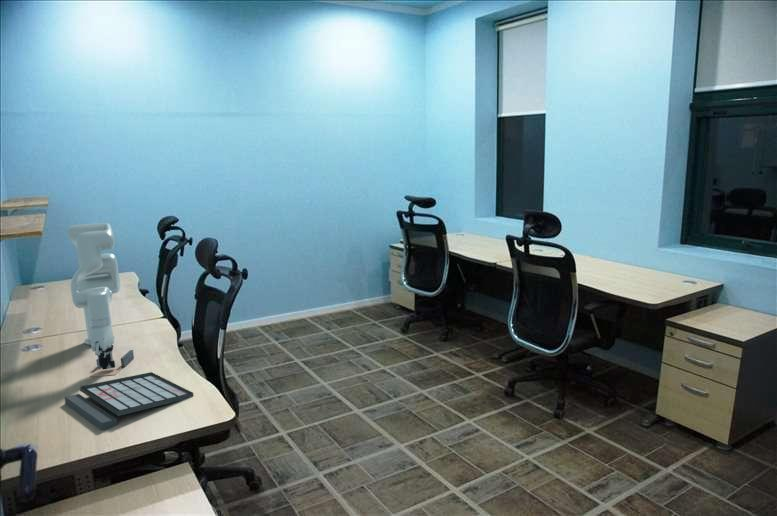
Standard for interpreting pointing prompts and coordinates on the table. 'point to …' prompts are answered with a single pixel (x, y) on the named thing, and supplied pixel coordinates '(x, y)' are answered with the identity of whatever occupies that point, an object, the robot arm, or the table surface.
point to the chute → (123, 359)
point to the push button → (110, 361)
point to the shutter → (124, 397)
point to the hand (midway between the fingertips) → (106, 363)
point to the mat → (105, 372)
